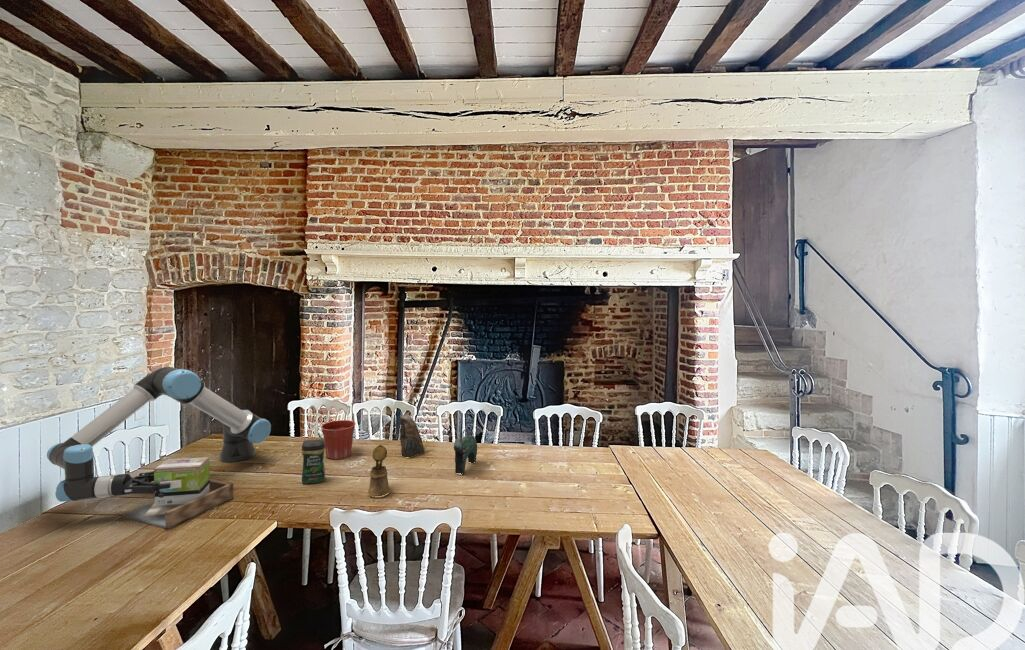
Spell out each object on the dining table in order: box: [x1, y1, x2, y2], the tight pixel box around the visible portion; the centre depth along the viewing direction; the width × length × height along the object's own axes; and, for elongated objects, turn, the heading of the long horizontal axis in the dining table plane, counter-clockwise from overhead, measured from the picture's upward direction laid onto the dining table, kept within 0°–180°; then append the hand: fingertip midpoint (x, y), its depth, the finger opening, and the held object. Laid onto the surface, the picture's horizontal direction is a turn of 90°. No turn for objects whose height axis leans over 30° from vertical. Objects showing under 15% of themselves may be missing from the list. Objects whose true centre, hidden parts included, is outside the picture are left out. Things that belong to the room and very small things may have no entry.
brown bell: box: [367, 444, 391, 497], centre depth 188 cm, size 9×14×18 cm, turn 13°
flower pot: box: [320, 419, 356, 460], centre depth 226 cm, size 16×16×16 cm
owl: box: [398, 412, 425, 458], centre depth 231 cm, size 13×13×20 cm
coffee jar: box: [301, 438, 326, 485], centre depth 196 cm, size 10×8×19 cm
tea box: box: [153, 456, 211, 506], centre depth 171 cm, size 15×10×15 cm
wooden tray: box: [123, 478, 234, 530], centre depth 172 cm, size 25×24×6 cm
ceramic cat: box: [453, 428, 478, 474], centre depth 213 cm, size 20×6×20 cm, turn 161°
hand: (186, 477), depth 171 cm, fingers closed on tea box, 10 cm apart
